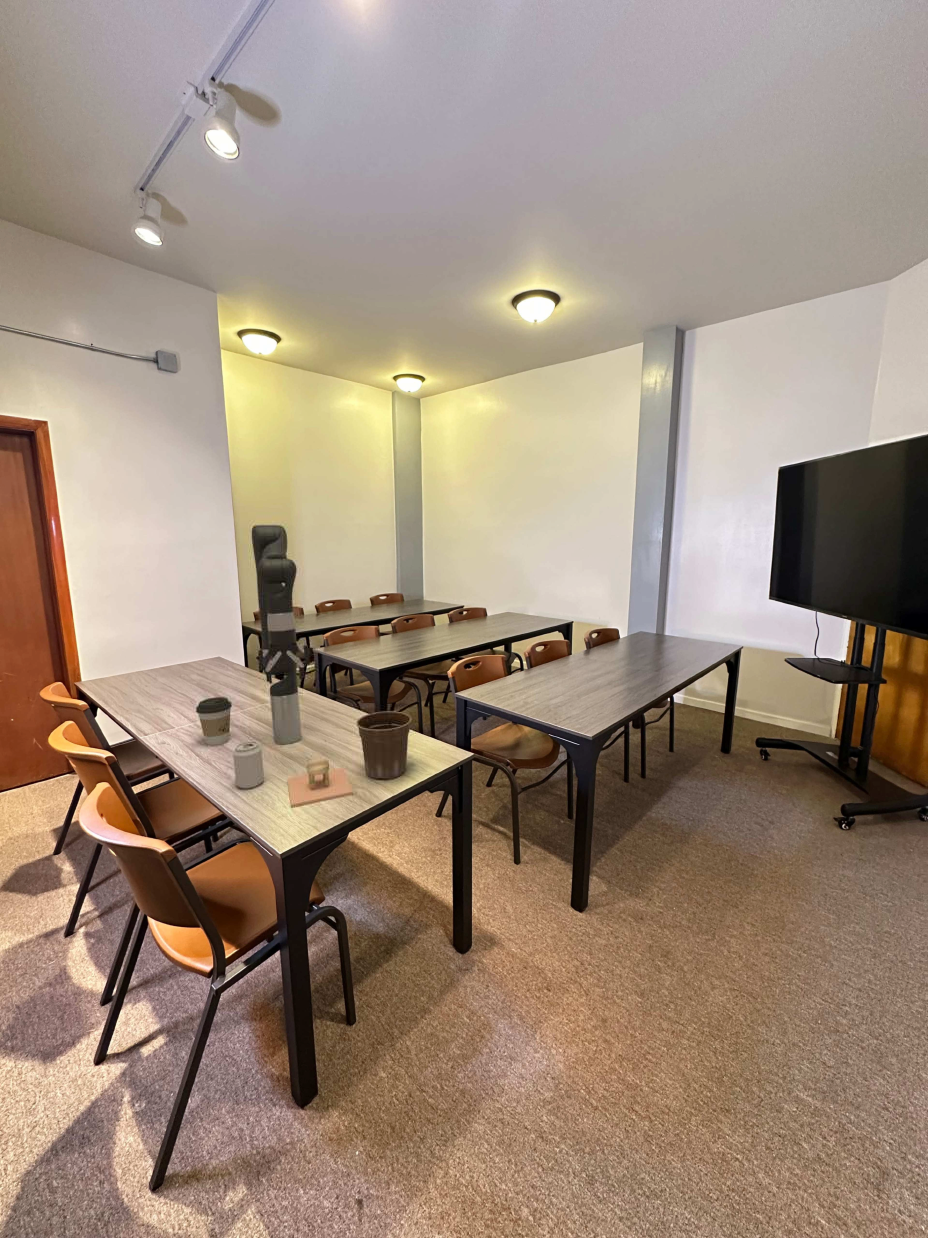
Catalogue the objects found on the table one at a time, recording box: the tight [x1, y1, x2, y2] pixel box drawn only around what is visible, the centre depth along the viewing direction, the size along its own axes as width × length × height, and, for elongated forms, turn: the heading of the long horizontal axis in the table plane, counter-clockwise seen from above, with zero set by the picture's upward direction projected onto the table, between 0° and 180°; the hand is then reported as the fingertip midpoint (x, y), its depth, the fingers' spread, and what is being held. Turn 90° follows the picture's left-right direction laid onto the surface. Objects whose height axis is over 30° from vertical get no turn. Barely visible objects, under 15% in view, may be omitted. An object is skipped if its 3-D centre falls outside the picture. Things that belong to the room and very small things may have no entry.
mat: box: [287, 767, 354, 808], centre depth 137 cm, size 16×16×1 cm
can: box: [232, 740, 265, 790], centre depth 140 cm, size 8×8×12 cm
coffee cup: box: [195, 696, 233, 747], centre depth 171 cm, size 11×11×15 cm
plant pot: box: [356, 710, 413, 780], centre depth 146 cm, size 16×16×16 cm
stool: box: [306, 758, 330, 790], centre depth 137 cm, size 6×6×6 cm
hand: (286, 681), depth 145 cm, fingers open, 8 cm apart
